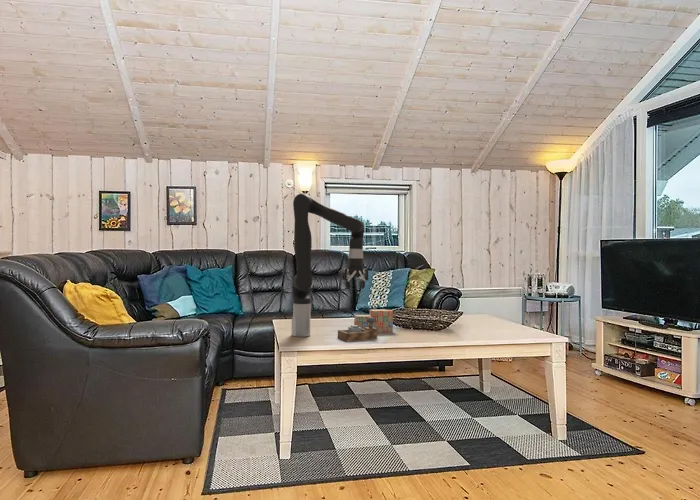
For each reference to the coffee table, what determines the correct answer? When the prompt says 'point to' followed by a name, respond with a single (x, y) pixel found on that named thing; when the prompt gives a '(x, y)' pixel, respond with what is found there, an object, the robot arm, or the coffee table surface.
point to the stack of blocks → (376, 320)
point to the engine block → (354, 329)
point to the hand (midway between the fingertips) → (355, 288)
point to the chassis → (358, 334)
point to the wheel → (371, 319)
